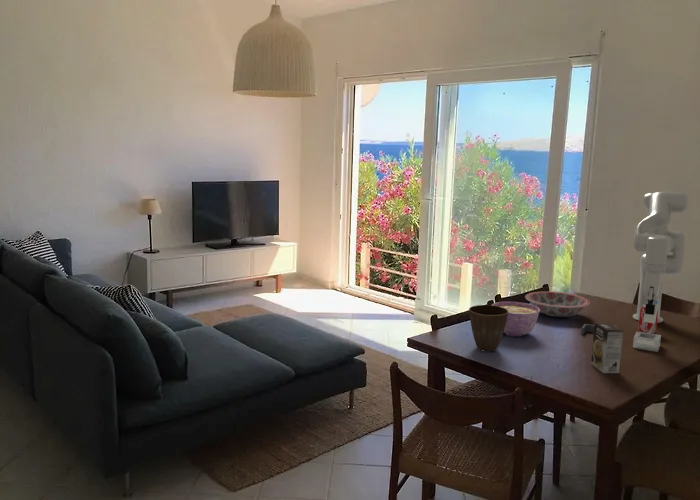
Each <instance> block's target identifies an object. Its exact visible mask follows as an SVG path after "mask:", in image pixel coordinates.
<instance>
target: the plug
mask: <svg viewBox="0 0 700 500" xmlns="http://www.w3.org/2000/svg"><path fill="white" fill-rule="evenodd" d="M652 297H654V296H652ZM652 299H653V298H652ZM658 302H659V297H656V298H655V302H654V305H655V310H654V315H650V314H644V321H643V322H649V323H654V324H655V321H656V314H657V307H658ZM646 303H647V299H646ZM645 308H646V307H645Z"/></svg>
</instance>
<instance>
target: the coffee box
mask: <svg viewBox="0 0 700 500" xmlns="http://www.w3.org/2000/svg"><path fill="white" fill-rule="evenodd" d="M594 325H595V326H594V332H593V337H592V338H593V339H592V351H591V362H590V365H591V366H593V367H594V368H596V369H597V370H598V371H599V372H601V373H602V374H619V373H620V366H621V356H622V349H623V339H624V329H622V328H620V327H618V326H617V325H615V324H614V323H611V322H594Z"/></svg>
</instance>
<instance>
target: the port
mask: <svg viewBox="0 0 700 500" xmlns="http://www.w3.org/2000/svg"><path fill="white" fill-rule="evenodd" d="M661 339H662V335H661V334H656V333H653V334H651V333H645V332H640V331H639V330H638V331H637V330H636V332H635V334H634V336H633V340H632V341H633V343H632V348H634V349H639V350H644V351H651V352H656V353H657V352H659V350H660V346H661Z"/></svg>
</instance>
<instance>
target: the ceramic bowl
mask: <svg viewBox="0 0 700 500" xmlns="http://www.w3.org/2000/svg"><path fill="white" fill-rule="evenodd" d="M524 297H525V300H527V301H528V302H529V304H531V305H534V306H536V307H538V308H539V309H540V312H539V314H543V315H546V316H551V317H557V318H562V317H563V318H564V317H565V318H567V317H573V316H575V315H577V314H579V313H580V312H581V311H582V310H584V308H585V307H587V306H589V305H590V300H589V299H588V298H586V297H583V296H581V295H577V294H574V293H573V294H572V293H568V292H567V293H566V292H559V291H533V292H529V293H527V294H526V295H525V296H524Z"/></svg>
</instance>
